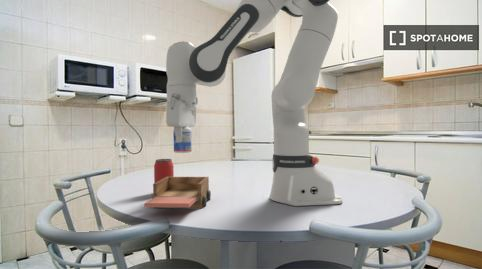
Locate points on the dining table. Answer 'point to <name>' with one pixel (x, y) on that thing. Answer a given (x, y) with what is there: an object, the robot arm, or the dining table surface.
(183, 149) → the pill bottle
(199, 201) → the truck bed
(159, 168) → the beer can
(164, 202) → the tailgate
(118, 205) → the dining table surface
